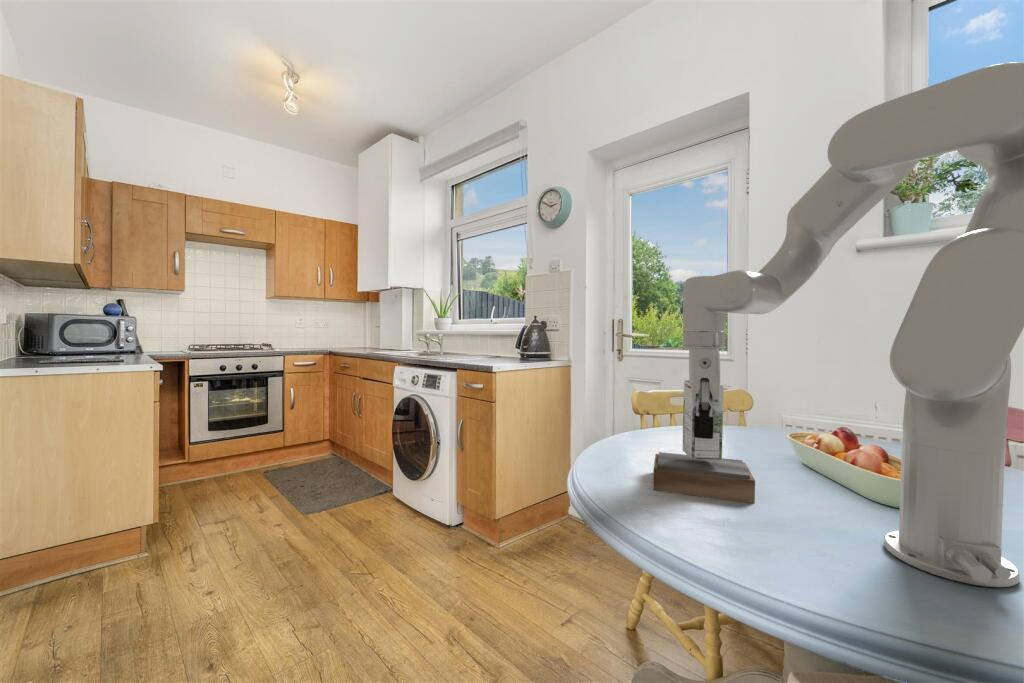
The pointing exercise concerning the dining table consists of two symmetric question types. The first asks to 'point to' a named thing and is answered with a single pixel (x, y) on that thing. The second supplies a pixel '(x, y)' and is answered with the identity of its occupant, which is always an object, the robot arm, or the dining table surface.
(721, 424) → the syrup box
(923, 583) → the dining table surface
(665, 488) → the block
